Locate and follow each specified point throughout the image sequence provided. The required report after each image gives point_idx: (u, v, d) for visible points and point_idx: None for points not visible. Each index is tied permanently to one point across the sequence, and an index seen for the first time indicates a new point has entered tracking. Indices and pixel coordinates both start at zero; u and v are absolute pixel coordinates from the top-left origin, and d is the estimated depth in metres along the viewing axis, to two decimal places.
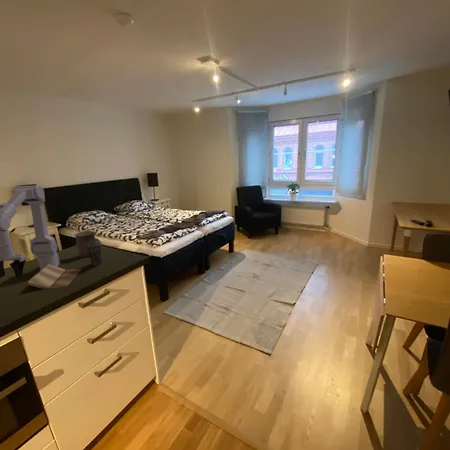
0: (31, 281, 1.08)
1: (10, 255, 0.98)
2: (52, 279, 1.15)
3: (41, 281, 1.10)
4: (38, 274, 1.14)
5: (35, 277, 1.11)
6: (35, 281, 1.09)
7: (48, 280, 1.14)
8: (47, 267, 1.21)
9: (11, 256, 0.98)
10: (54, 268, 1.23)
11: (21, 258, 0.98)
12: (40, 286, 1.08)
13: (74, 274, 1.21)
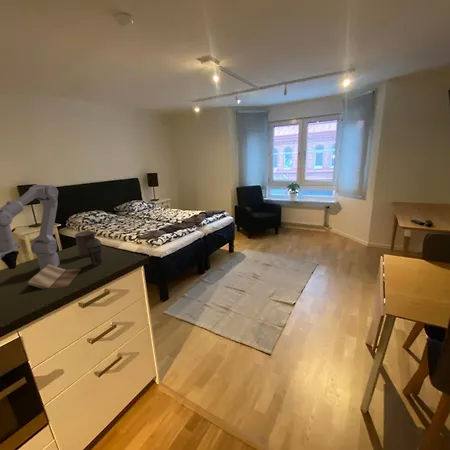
0: (31, 281, 1.08)
1: (1, 250, 1.04)
2: (52, 279, 1.15)
3: (41, 281, 1.10)
4: (38, 274, 1.14)
5: (35, 277, 1.11)
6: (35, 281, 1.09)
7: (48, 280, 1.14)
8: (47, 267, 1.21)
9: (1, 251, 1.04)
10: (54, 268, 1.23)
11: None
12: (40, 286, 1.08)
13: (74, 274, 1.21)
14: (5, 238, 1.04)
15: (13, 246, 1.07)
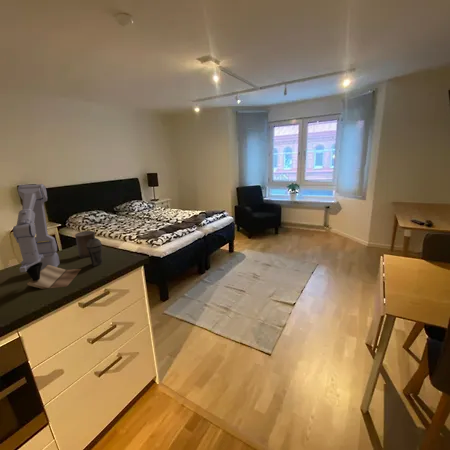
0: (31, 282, 1.08)
1: (26, 262, 1.05)
2: (52, 279, 1.15)
3: (41, 282, 1.11)
4: None
5: None
6: (35, 282, 1.09)
7: (48, 280, 1.14)
8: (47, 268, 1.21)
9: (26, 263, 1.05)
10: (54, 269, 1.23)
11: (20, 269, 1.01)
12: (40, 286, 1.08)
13: (74, 274, 1.21)
14: (34, 249, 1.06)
15: (38, 258, 1.07)
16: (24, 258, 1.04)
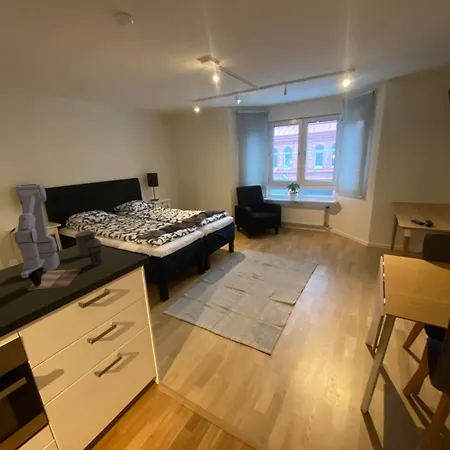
0: (30, 288, 1.09)
1: (28, 267, 1.05)
2: (52, 280, 1.15)
3: (40, 285, 1.11)
4: None
5: None
6: (34, 287, 1.10)
7: (48, 282, 1.14)
8: (46, 273, 1.22)
9: (28, 269, 1.05)
10: (54, 272, 1.23)
11: (22, 275, 1.02)
12: None
13: (74, 274, 1.21)
14: (36, 254, 1.06)
15: (39, 263, 1.08)
16: (25, 263, 1.05)
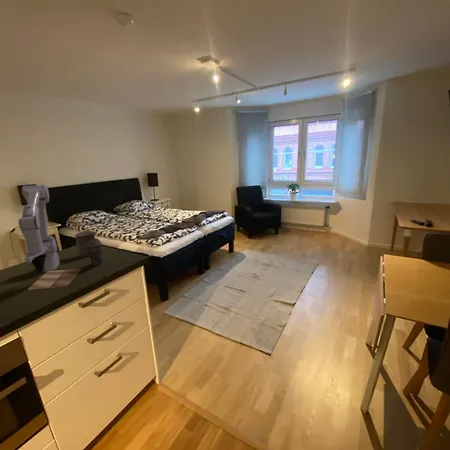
0: (30, 288, 1.09)
1: (31, 253, 1.08)
2: (52, 280, 1.15)
3: (40, 285, 1.11)
4: (37, 281, 1.15)
5: (34, 284, 1.12)
6: (34, 287, 1.10)
7: (48, 282, 1.14)
8: (46, 273, 1.22)
9: (31, 254, 1.08)
10: (54, 272, 1.23)
11: (25, 260, 1.04)
12: None
13: (74, 274, 1.21)
14: (39, 240, 1.09)
15: (42, 249, 1.11)
16: (29, 249, 1.08)
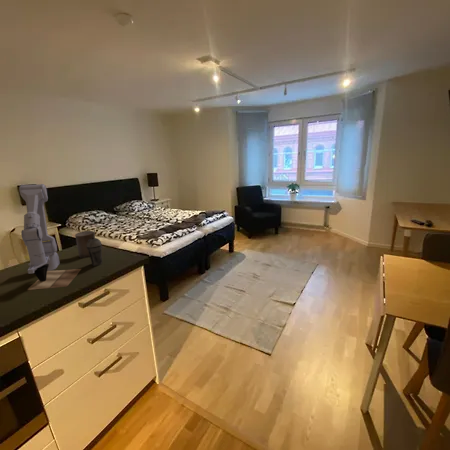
0: (30, 288, 1.09)
1: (33, 264, 1.10)
2: (52, 280, 1.15)
3: (40, 285, 1.11)
4: (37, 281, 1.15)
5: (34, 284, 1.12)
6: (34, 287, 1.10)
7: (48, 282, 1.14)
8: None
9: (34, 265, 1.10)
10: (54, 272, 1.23)
11: (28, 271, 1.06)
12: None
13: (74, 274, 1.21)
14: (42, 251, 1.11)
15: (44, 260, 1.12)
16: (32, 260, 1.09)
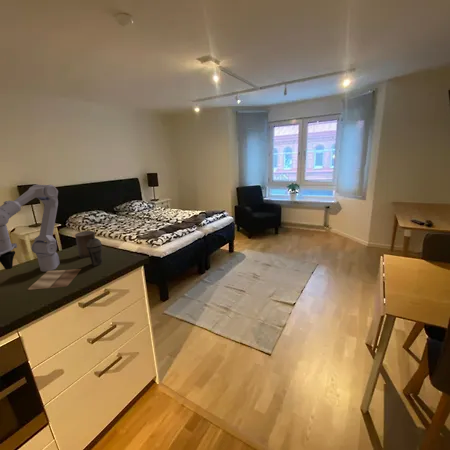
0: (30, 288, 1.09)
1: None
2: (52, 280, 1.15)
3: (40, 285, 1.11)
4: (37, 281, 1.15)
5: (34, 284, 1.12)
6: (34, 287, 1.10)
7: (48, 282, 1.14)
8: (46, 273, 1.22)
9: None
10: (54, 272, 1.23)
11: None
12: None
13: (74, 274, 1.21)
14: (1, 238, 1.04)
15: (9, 246, 1.07)
16: None
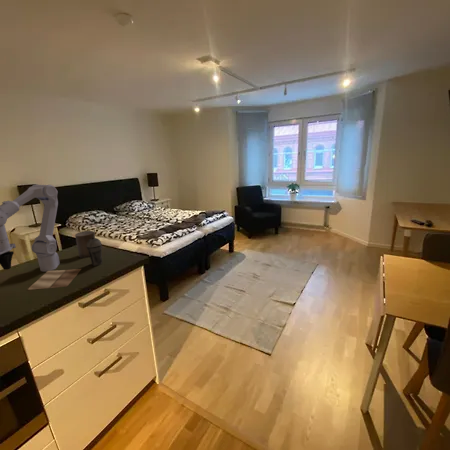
0: (30, 288, 1.09)
1: None
2: (52, 280, 1.15)
3: (40, 285, 1.11)
4: (37, 281, 1.15)
5: (34, 284, 1.12)
6: (34, 287, 1.10)
7: (48, 282, 1.14)
8: (46, 273, 1.22)
9: None
10: (54, 272, 1.23)
11: None
12: None
13: (74, 274, 1.21)
14: None
15: (8, 246, 1.07)
16: None
